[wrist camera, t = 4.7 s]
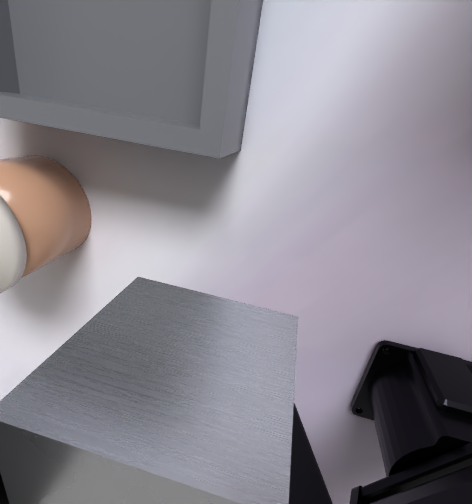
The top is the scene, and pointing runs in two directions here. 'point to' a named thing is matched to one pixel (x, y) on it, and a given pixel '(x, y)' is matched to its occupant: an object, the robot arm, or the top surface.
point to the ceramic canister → (38, 215)
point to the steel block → (157, 406)
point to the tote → (132, 69)
